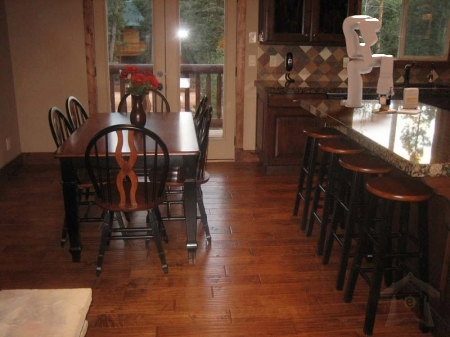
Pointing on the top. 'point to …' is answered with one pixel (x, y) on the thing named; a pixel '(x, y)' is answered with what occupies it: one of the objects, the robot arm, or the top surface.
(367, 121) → the top surface
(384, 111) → the tan round plate
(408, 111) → the mat
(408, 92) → the supplement box
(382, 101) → the cap
